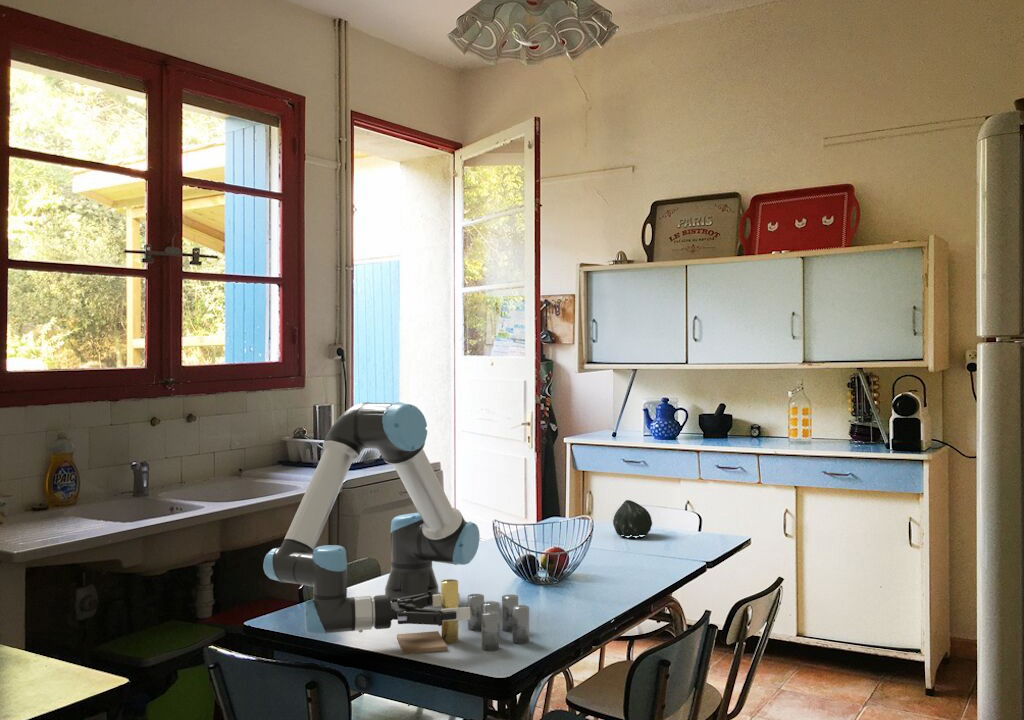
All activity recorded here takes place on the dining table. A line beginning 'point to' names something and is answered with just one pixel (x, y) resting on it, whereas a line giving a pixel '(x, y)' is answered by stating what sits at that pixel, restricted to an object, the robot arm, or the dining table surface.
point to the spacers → (498, 620)
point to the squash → (632, 520)
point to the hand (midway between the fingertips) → (464, 605)
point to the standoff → (449, 601)
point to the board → (421, 642)
